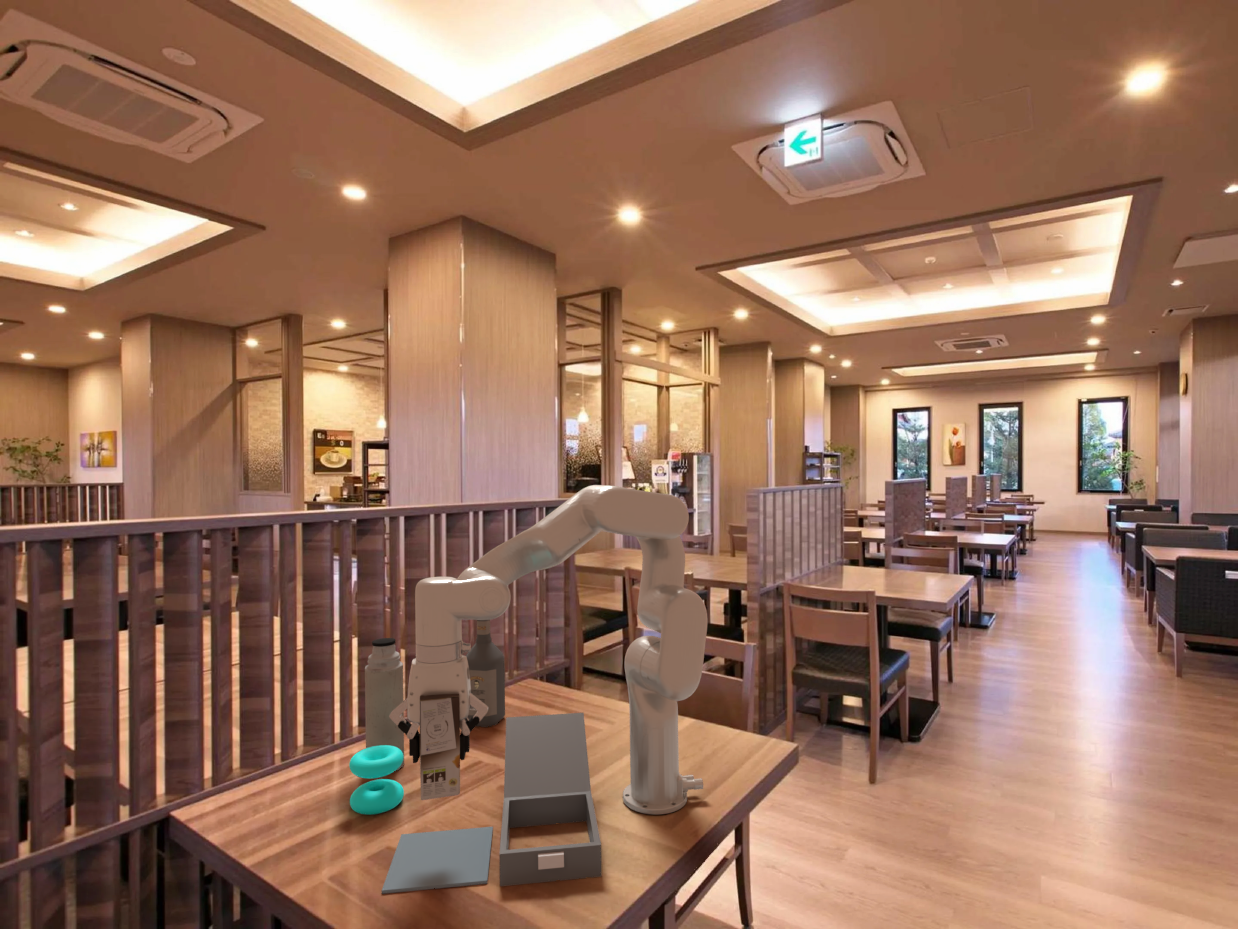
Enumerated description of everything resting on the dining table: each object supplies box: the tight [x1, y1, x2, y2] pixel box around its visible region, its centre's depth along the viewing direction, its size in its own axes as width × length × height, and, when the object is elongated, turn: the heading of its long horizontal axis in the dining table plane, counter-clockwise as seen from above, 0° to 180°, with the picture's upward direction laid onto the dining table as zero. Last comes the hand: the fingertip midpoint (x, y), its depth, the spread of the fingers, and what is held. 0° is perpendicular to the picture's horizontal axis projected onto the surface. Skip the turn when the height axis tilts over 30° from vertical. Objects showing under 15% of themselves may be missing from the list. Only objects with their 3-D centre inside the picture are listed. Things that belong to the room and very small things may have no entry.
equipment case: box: [498, 790, 603, 887], centre depth 113 cm, size 16×19×5 cm
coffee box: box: [419, 694, 461, 801], centre depth 112 cm, size 9×6×16 cm
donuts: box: [348, 745, 405, 816], centre depth 130 cm, size 10×10×10 cm
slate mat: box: [381, 826, 494, 894], centre depth 111 cm, size 16×16×1 cm
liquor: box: [465, 620, 506, 728], centre depth 173 cm, size 9×9×30 cm
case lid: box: [503, 712, 592, 799], centre depth 131 cm, size 16×18×1 cm
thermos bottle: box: [364, 637, 405, 771], centre depth 147 cm, size 8×8×28 cm
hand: (439, 757), depth 112 cm, fingers closed on coffee box, 7 cm apart
